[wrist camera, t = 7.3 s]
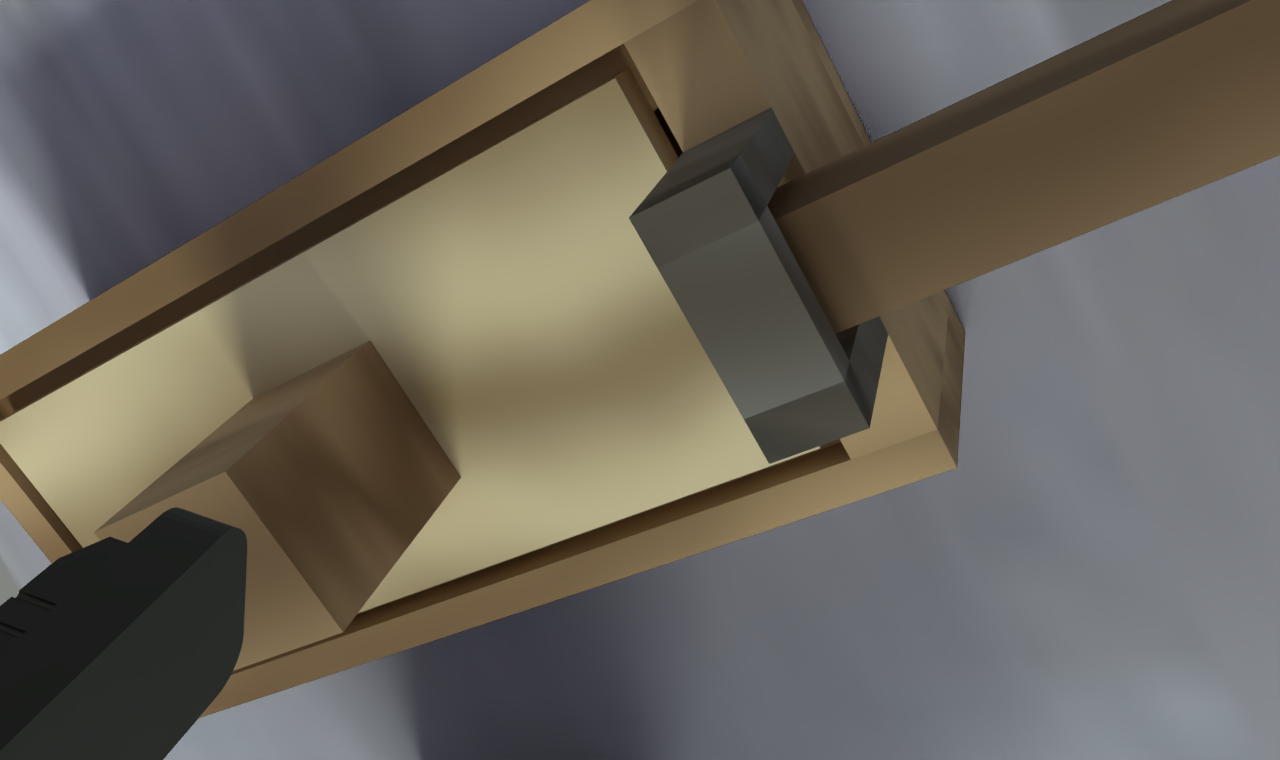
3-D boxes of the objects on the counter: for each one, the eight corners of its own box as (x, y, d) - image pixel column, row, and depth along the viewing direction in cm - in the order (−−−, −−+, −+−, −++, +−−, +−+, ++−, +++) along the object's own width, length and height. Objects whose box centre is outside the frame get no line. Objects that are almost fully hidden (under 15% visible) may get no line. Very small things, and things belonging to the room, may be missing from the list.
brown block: (1670, -43, 18) (1793, -10, 15) (841, 301, 24) (820, 370, 21) (1617, -248, 17) (1737, -252, 14) (769, 164, 23) (738, 217, 20)
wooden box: (965, 332, 31) (950, 579, 21) (299, 586, 42) (94, 824, 32) (754, -95, 27) (627, -26, 18) (89, 303, 38) (-206, 476, 29)
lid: (825, 426, 26) (774, 619, 20) (204, 653, 35) (42, 832, 29) (629, 67, 24) (504, 166, 18) (14, 411, 33) (-204, 553, 27)
